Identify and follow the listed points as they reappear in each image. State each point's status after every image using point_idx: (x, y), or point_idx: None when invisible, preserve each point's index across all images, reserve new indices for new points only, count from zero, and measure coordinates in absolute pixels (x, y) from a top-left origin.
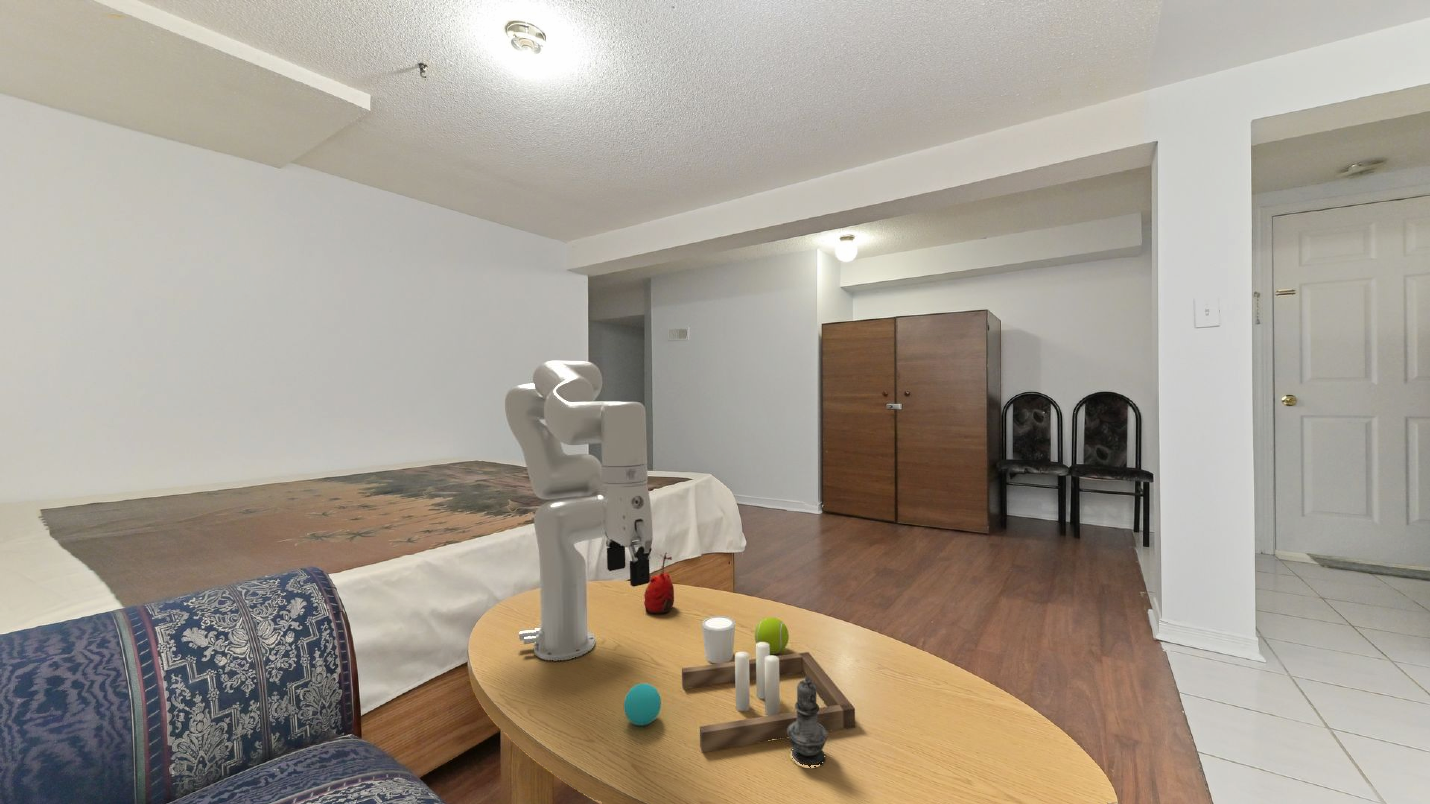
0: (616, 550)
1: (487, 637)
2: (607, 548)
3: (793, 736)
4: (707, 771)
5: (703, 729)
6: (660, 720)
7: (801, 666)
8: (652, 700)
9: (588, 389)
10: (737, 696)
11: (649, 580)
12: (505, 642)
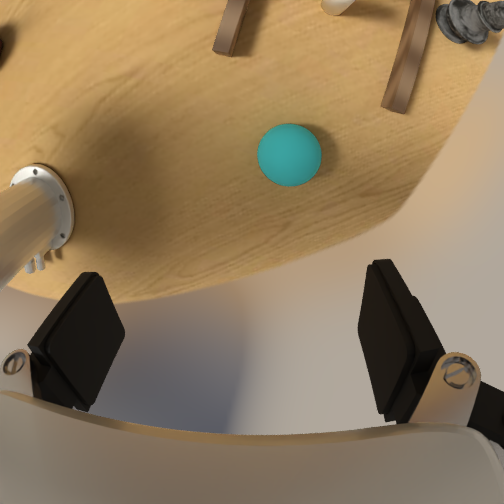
0: (76, 373)
1: (16, 284)
2: (83, 410)
3: (472, 38)
4: (421, 126)
5: (399, 107)
6: (296, 124)
7: None
8: (318, 150)
9: None
10: (340, 10)
11: (392, 263)
12: None
